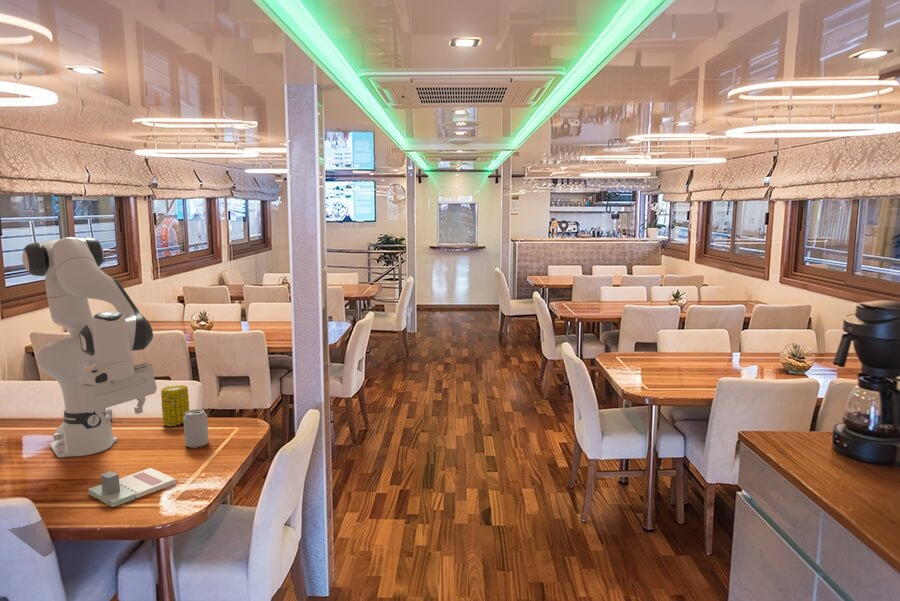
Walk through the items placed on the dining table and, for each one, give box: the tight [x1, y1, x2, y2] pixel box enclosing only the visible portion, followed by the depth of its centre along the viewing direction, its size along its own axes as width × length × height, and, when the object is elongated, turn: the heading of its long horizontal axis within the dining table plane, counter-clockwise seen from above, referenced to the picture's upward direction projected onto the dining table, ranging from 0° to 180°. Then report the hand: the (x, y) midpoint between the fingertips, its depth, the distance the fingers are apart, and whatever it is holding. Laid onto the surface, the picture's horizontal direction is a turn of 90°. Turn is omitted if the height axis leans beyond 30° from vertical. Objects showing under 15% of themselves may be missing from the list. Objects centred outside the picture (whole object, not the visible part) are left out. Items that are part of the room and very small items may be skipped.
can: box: [183, 408, 209, 449], centre depth 207 cm, size 8×8×12 cm
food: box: [160, 384, 190, 428], centre depth 230 cm, size 15×12×10 cm
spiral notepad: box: [119, 467, 177, 499], centre depth 177 cm, size 14×12×2 cm
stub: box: [88, 470, 136, 508], centre depth 170 cm, size 14×6×7 cm, turn 54°
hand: (122, 418), depth 169 cm, fingers open, 8 cm apart
